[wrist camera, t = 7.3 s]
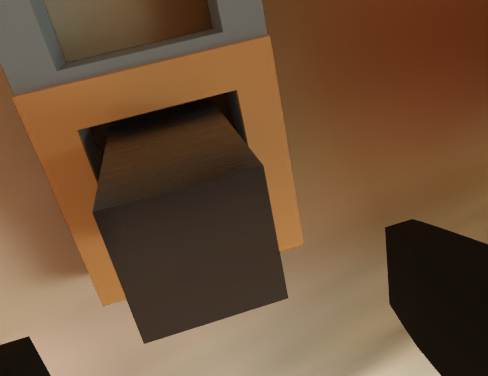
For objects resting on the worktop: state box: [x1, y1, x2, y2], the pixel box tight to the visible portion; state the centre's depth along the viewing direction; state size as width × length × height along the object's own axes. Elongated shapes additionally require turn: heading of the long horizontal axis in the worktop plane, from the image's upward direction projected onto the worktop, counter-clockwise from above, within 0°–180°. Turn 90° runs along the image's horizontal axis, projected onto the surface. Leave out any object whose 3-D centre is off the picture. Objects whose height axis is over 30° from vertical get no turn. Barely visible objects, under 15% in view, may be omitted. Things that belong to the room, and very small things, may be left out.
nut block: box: [92, 97, 288, 344], centre depth 13 cm, size 4×4×8 cm
